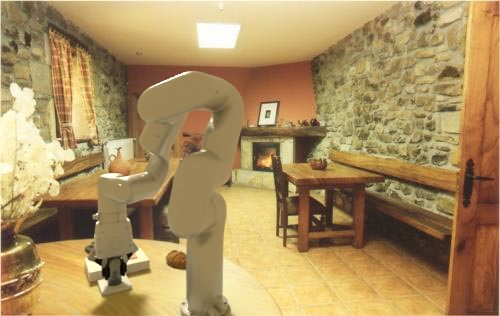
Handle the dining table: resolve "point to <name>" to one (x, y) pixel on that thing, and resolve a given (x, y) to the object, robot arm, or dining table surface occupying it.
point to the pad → (108, 289)
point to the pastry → (176, 259)
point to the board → (133, 265)
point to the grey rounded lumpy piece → (89, 247)
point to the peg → (114, 271)
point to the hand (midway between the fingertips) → (114, 275)
